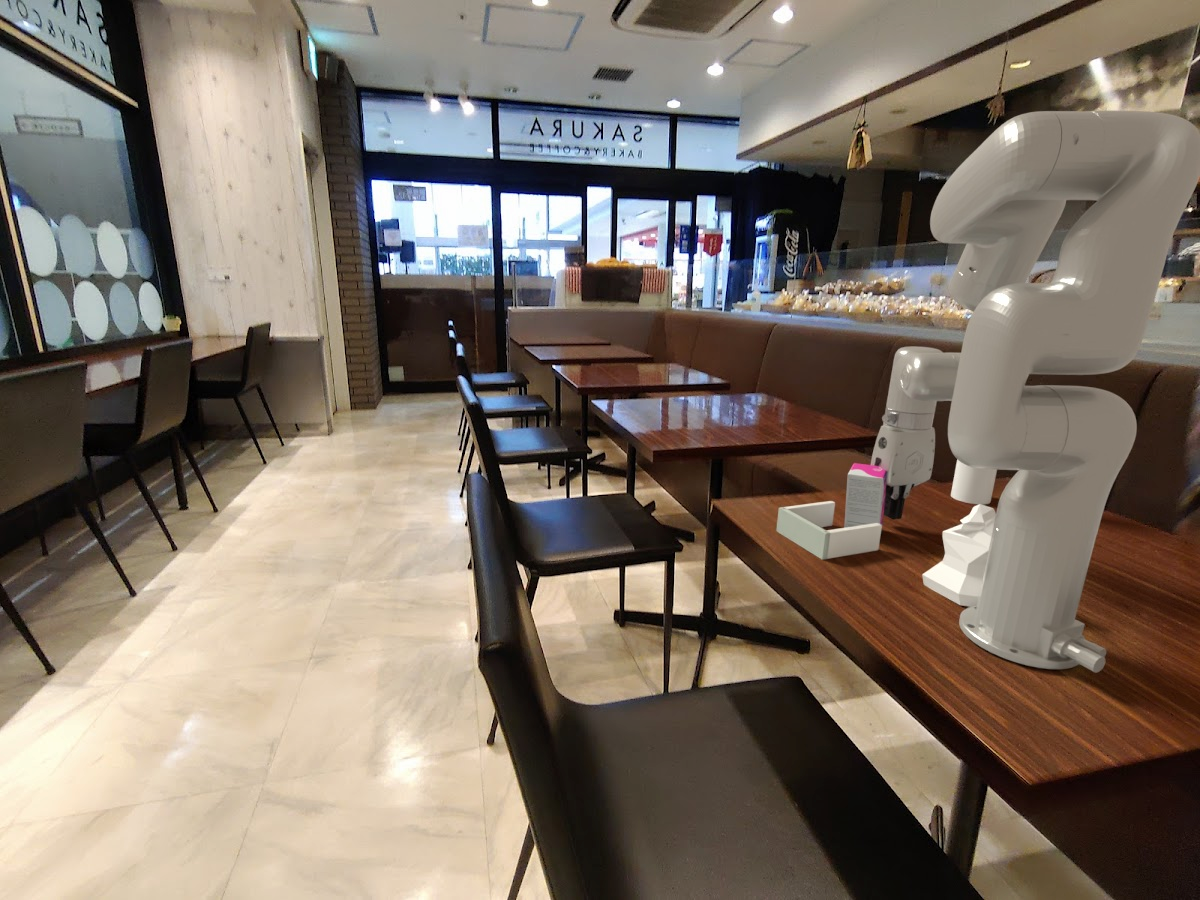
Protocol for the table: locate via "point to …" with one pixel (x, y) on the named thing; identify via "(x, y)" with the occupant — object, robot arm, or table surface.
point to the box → (825, 531)
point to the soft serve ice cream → (963, 558)
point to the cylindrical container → (973, 484)
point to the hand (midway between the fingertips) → (891, 516)
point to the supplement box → (865, 495)
